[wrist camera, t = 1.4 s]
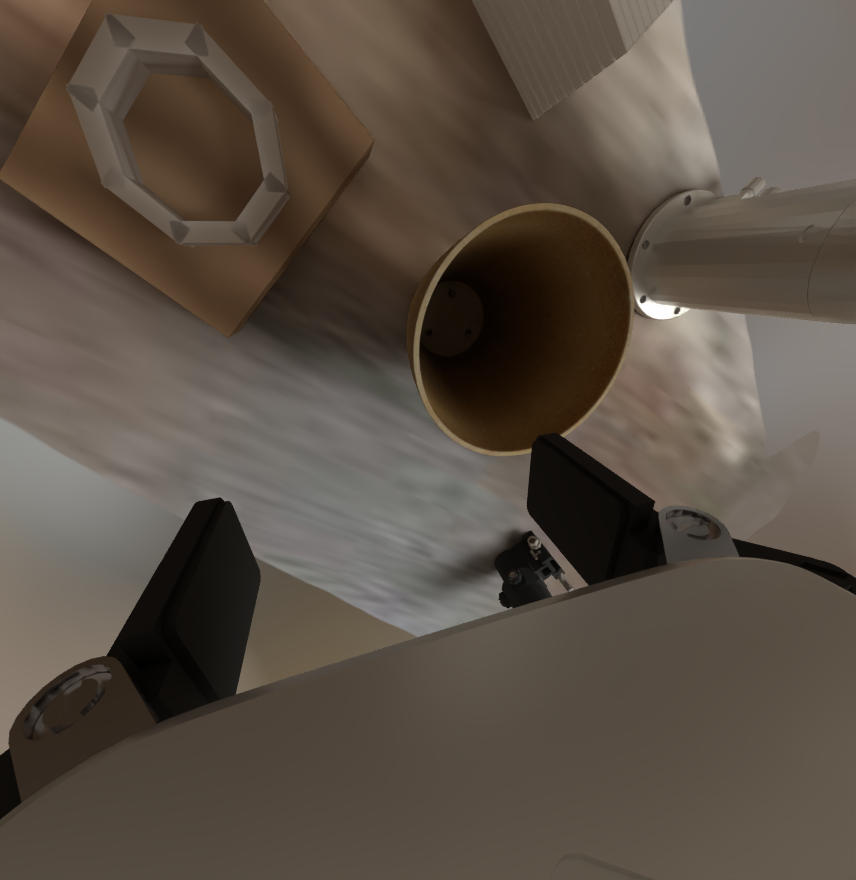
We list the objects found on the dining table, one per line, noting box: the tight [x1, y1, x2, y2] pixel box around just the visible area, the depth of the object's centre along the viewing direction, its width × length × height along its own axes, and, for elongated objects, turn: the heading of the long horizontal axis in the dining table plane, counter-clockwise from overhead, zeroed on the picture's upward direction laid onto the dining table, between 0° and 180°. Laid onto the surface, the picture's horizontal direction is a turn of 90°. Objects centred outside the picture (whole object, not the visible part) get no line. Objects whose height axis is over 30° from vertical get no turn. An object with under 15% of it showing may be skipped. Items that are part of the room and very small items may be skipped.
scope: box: [494, 531, 574, 608], centre depth 47 cm, size 8×14×10 cm
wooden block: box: [0, 0, 375, 338], centre depth 22 cm, size 18×14×6 cm
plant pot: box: [406, 203, 634, 456], centre depth 27 cm, size 15×15×16 cm
